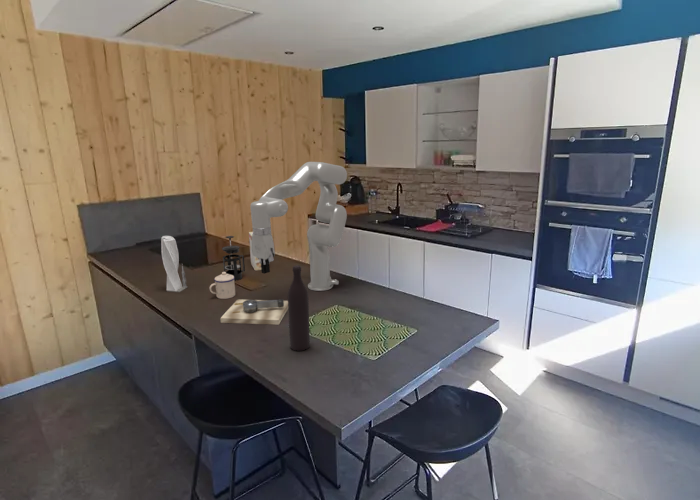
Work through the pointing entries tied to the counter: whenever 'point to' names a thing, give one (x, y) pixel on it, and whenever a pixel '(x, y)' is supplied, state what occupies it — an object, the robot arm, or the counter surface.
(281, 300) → the lever
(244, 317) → the wooden cutting board
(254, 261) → the coffeecake box
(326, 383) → the counter surface
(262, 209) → the robot arm
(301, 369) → the counter surface
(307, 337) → the wine bottle
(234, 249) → the french press
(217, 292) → the teacup with lid
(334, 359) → the counter surface
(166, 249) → the skyscraper
